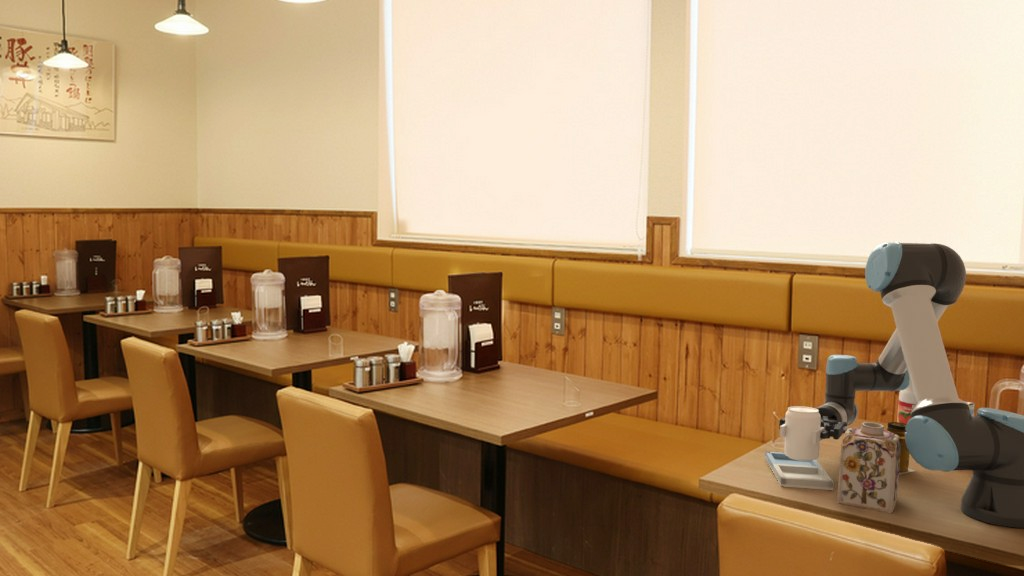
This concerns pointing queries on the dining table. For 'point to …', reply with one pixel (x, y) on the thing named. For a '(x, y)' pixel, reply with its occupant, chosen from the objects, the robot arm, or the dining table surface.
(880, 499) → the decorative jar
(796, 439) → the beverage can
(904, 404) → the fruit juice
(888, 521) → the dining table surface
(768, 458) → the divided tray
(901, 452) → the condiment
